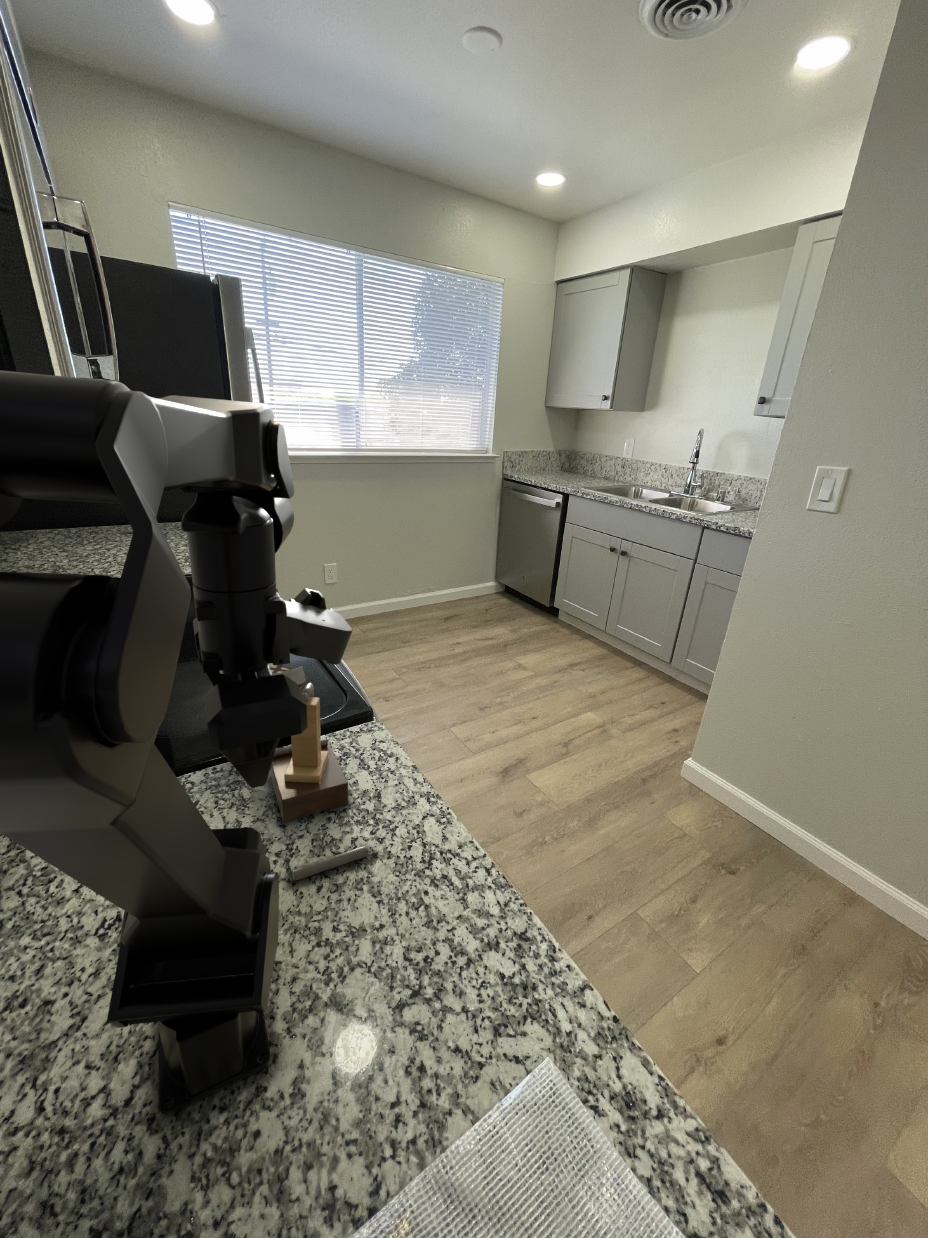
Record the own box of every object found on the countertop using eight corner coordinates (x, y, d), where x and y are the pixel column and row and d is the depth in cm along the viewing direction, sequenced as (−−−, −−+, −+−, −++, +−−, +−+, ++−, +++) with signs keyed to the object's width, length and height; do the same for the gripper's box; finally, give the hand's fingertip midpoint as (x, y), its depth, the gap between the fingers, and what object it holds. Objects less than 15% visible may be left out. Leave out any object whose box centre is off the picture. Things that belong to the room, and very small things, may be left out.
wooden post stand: (319, 783, 55) (317, 704, 52) (284, 781, 55) (279, 702, 51) (329, 756, 60) (327, 682, 56) (296, 755, 59) (292, 680, 56)
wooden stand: (371, 857, 51) (372, 827, 49) (294, 883, 47) (292, 853, 46) (329, 762, 63) (328, 736, 62) (265, 777, 60) (263, 750, 58)
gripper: (381, 614, 34) (375, 796, 40) (314, 545, 49) (317, 685, 55) (196, 634, 29) (221, 841, 35) (184, 550, 44) (202, 705, 50)
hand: (250, 752), depth 44 cm, fingers open, 9 cm apart
